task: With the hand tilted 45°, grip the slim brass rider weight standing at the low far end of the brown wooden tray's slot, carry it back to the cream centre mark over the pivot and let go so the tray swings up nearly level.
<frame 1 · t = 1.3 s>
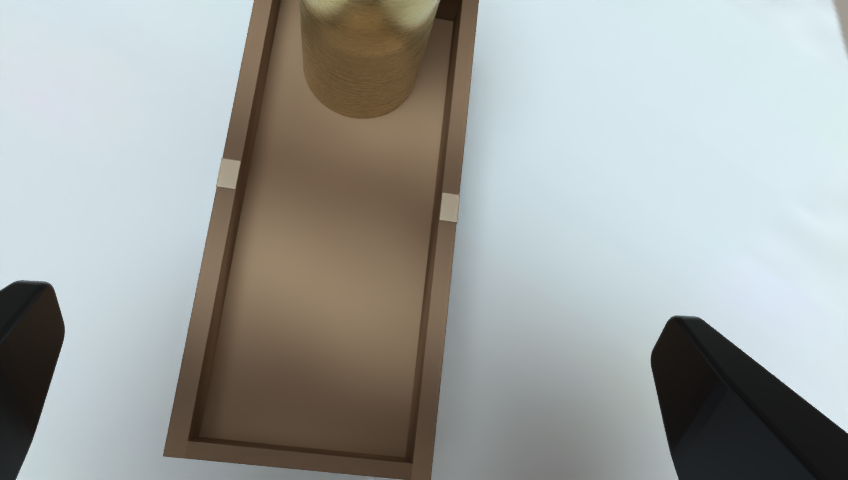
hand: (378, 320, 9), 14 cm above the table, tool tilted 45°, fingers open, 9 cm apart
brass rider: (360, 66, 20), point 4 cm above the table, tilted 6°, touching brown wooden tray
brown wooden tray: (340, 205, 19), point 4 cm above the table, hinge at 5.9°, touching brass rider
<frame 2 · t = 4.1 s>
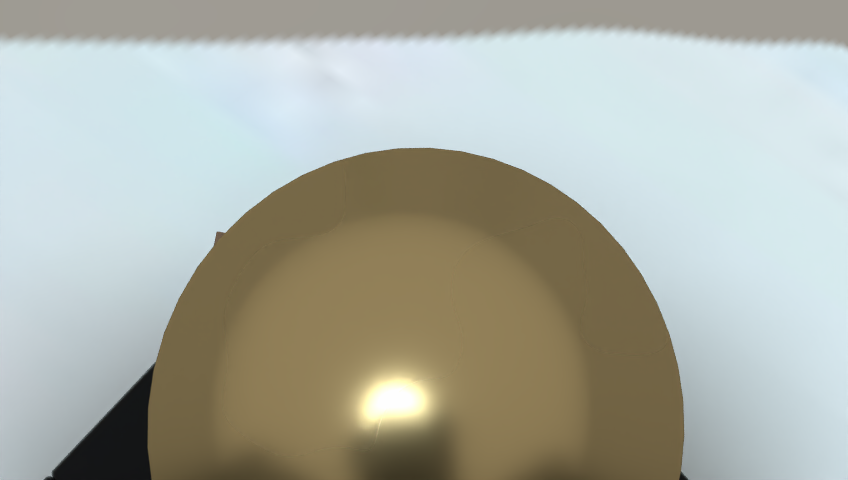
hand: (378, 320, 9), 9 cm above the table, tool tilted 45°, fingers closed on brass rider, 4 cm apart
brass rider: (358, 384, 14), point 4 cm above the table, tilted 5°, touching brown wooden tray, gripper
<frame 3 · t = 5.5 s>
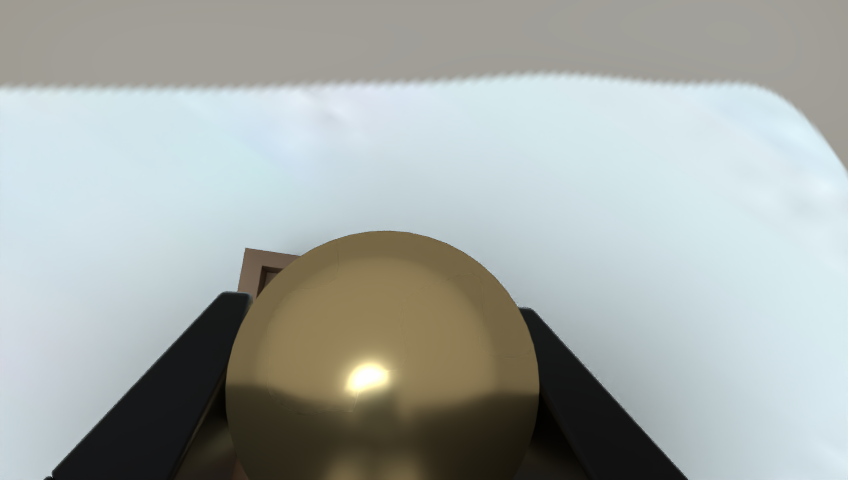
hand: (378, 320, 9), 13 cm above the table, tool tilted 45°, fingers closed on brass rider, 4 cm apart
brass rider: (353, 354, 17), point 5 cm above the table, touching gripper
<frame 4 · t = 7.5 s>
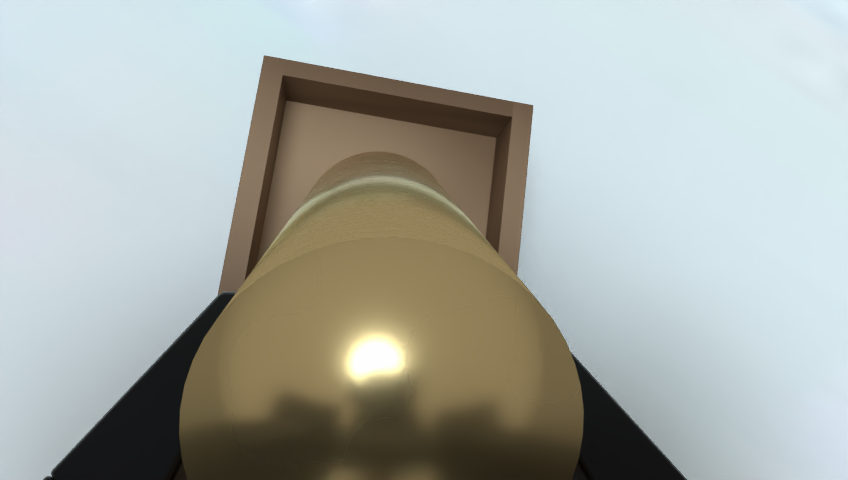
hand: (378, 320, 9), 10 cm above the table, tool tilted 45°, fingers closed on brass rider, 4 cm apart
brass rider: (378, 226, 15), point 5 cm above the table, tilted 20°, touching brown wooden tray, gripper
brown wooden tray: (355, 386, 15), point 4 cm above the table, hinge at 3.2°, touching brass rider
when the fingers open (10 cm above the table, at t = 7.6 s): brass rider moves 2 cm and tips over, resting on brown wooden tray.
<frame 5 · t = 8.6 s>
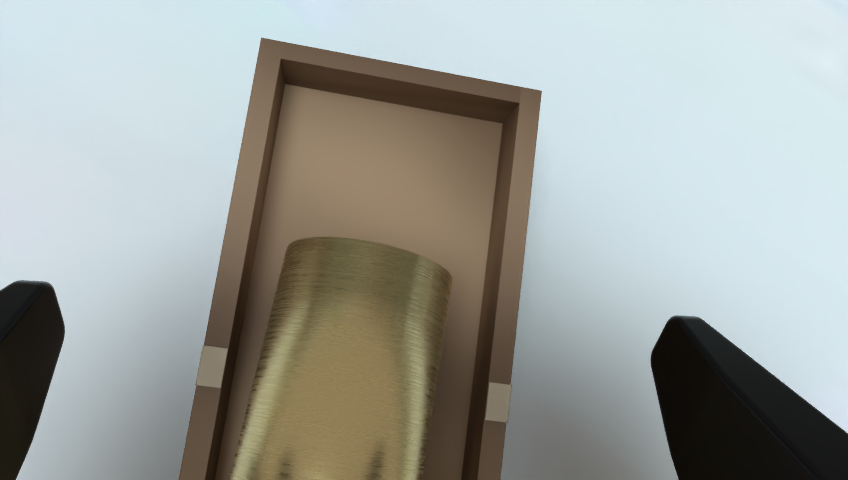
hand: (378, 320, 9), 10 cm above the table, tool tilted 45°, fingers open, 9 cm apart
brass rider: (369, 267, 14), point 6 cm above the table, tilted 79°, touching brown wooden tray
brown wooden tray: (356, 380, 15), point 4 cm above the table, hinge at 1.3°, touching brass rider
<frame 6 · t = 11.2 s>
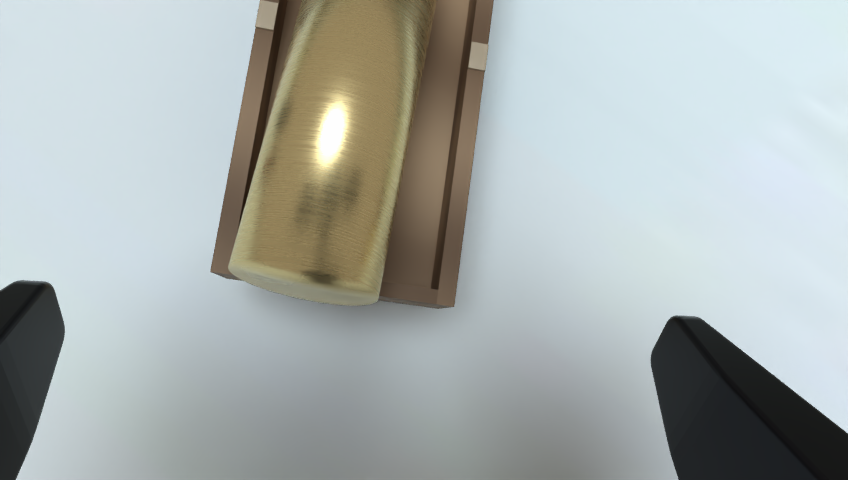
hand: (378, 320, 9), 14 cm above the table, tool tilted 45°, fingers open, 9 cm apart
brown wooden tray: (371, 55, 20), point 4 cm above the table, hinge at -0.1°, touching brass rider
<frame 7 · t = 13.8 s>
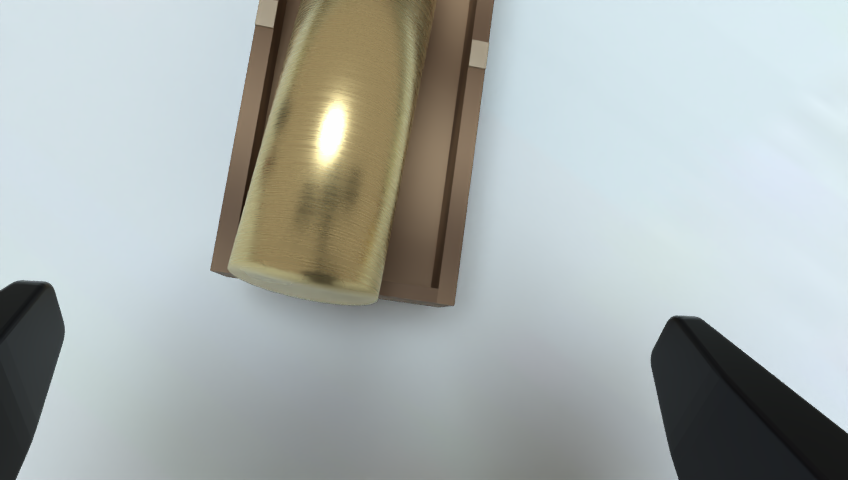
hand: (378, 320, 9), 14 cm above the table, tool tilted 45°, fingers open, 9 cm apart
brown wooden tray: (371, 53, 19), point 4 cm above the table, hinge at -0.2°, touching brass rider
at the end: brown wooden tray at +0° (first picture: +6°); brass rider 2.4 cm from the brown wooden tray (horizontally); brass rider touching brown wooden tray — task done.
